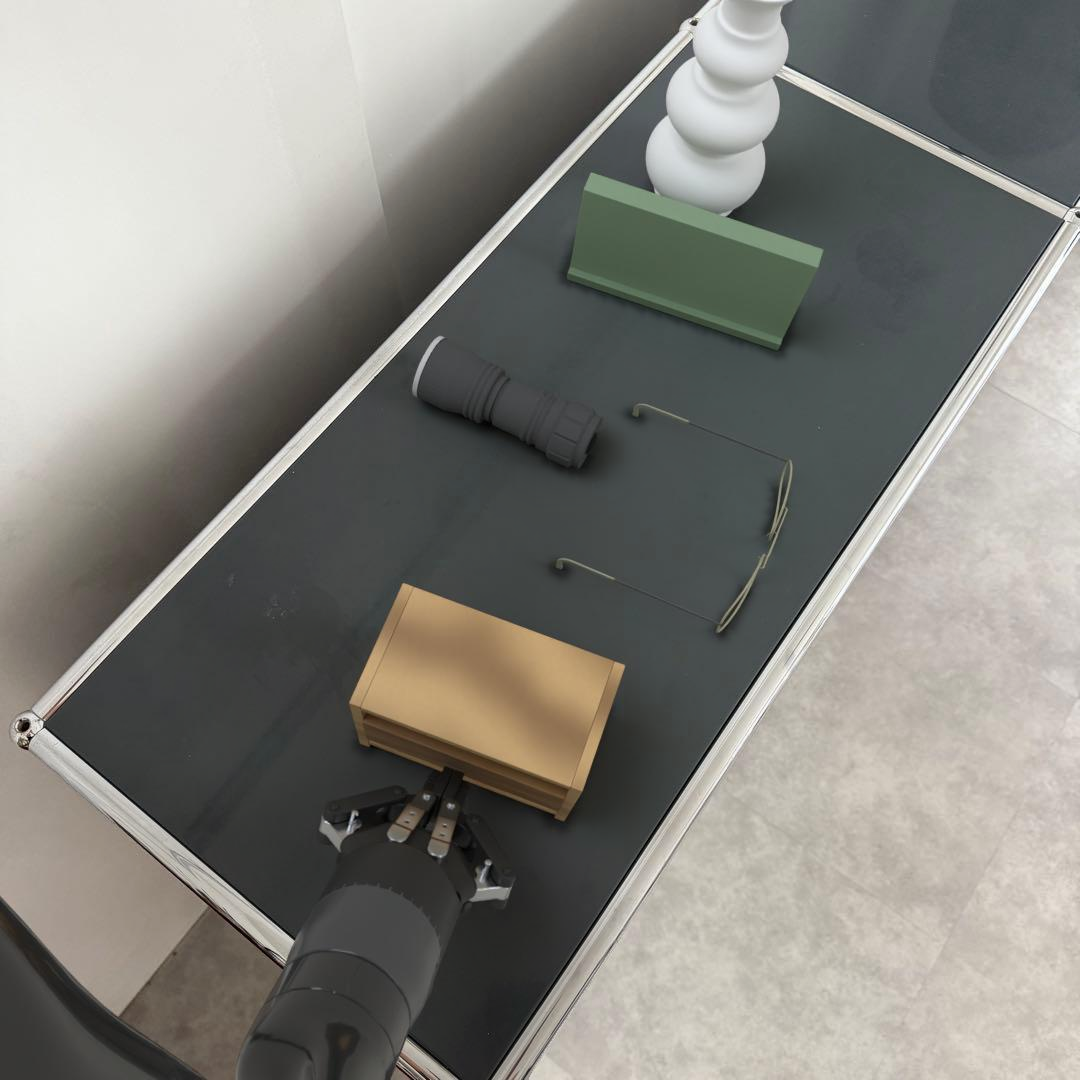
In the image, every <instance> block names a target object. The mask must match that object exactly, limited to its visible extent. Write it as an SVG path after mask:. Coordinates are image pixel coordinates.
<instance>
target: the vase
mask: <svg viewBox="0 0 1080 1080" xmlns="http://www.w3.org/2000/svg"><path fill="white" fill-rule="evenodd" d="M793 1H794V0H721V1H720V2H719V4H718V5H715V6H713V7H712V8H710V9H708V11H707V12H705V13H704V14H703V15H702V16H701V18H700V19H699V21H698V22H697V24H696V26H695V29H694V31H693V35H692V49H693V54H694V56H693V57H691V58H689V59H688V60H686V61H685V62H683V64H682V65H680V66H679V68H677V70H676V71H675V72H674V73H673V75H672V77H671V78H670V81H669V83H668V86H667V89H666V94H665V106H666V112H667V114H666V115H665V116H664V117H663V118H662V119H661V120H660V121H659V122H658V123H657V125H656V126H655V127H654V129H652V132H651V134H650V136H649V138H648V141H647V144H646V149H645V165H646V171H647V175H648V178H649V180H650V182H651V184H652V186H653V190H654V193H655V194H658V195H661V196H664V197H667V198H670V199H673V200H676V201H679V202H682V203H685V204H688V205H691V206H694V207H697V208H700V209H703V210H706V211H709V212H712V213H715V214H718V215H721V216H724V217H727V216H729V215H730V214H731V213H732V212H733V211H734V210H735V209H738V208H739V207H741V206H742V205H743V204H745V203H746V202H747V201H748V200H749V199H750V198H751V197H752V196H753V195H754V194H755V192H756V191H757V190H758V188H759V187H760V184H761V182H762V180H763V178H764V175H765V169H766V152H765V148H764V143H763V141H765V140H766V138H767V137H768V136H769V135H770V134H771V133H772V131H773V129H774V128H775V126H776V123H777V122H778V119H779V114H780V107H781V106H780V105H781V104H780V103H781V101H780V95H779V91H778V87H777V85H776V83H775V81H774V79H773V78H774V77H776V76H777V75H778V74H779V72H780V71H781V70H782V68H783V67H784V65H785V64H786V61H787V58H788V54H789V47H790V45H789V37H788V34H787V31H786V29H785V26H784V24H783V23H782V16H781V12H782V9H783V6H785V5H787V4H789V3H791V2H793Z"/></svg>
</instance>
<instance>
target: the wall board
mask: <svg viewBox="0 0 1080 1080" xmlns="http://www.w3.org/2000/svg"><path fill="white" fill-rule="evenodd" d="M823 253H824V249H823V248H820V247H818V246H814V245H812V244H808V243H806V242H802V241H799V240H796V239H793V238H790V237H788V236H784V235H781V234H779V233H775V232H772V231H769V230H766V229H763V228H760V227H757V226H754V225H751V224H748V223H745V222H742V221H739V220H736V219H733V218H730V217H727V216H726V217H724V216H721V215H718V214H715V213H712V212H709V211H706V210H703V209H700V208H697V207H694V206H691V205H688V204H685V203H682V202H679V201H676V200H673V199H670V198H667V197H664V196H661V195H658V194H655V192H652V191H649V190H645V189H642V188H640V187H637V186H634V185H630V184H628V183H626V182H621V181H618V180H616V179H613V178H610V177H607V176H604V175H600V174H599V173H595V172H590V173H589V176H588V178H587V180H586V183H585V185H584V187H583V189H582V196H581V201H580V207H579V212H578V219H577V225H576V231H575V236H574V242H573V247H572V254H571V259H570V264H569V268H568V270H567V273H566V280H568V281H570V282H574V283H576V284H579V285H582V286H585V287H588V288H590V289H594V290H597V291H600V292H602V293H606V294H609V295H612V296H614V297H618V298H621V299H623V300H626V301H630V302H632V303H635V304H638V305H641V306H644V307H647V308H649V309H653V310H656V311H659V312H662V313H665V314H667V315H670V316H674V317H675V318H679V319H682V320H685V321H688V322H692V323H694V324H696V325H700V326H703V327H706V328H709V329H712V330H714V331H718V332H721V333H724V334H727V335H730V336H732V337H735V338H738V339H741V340H745V341H747V342H749V343H753V344H755V345H759V346H762V347H765V348H768V349H770V350H773V351H777V352H778V351H779V349H780V347H781V346H782V342H783V339H784V337H785V335H786V333H787V331H788V328H789V327H790V325H791V323H792V321H793V319H794V318H795V315H796V313H797V311H798V309H799V307H800V305H801V303H802V301H803V298H804V297H805V295H806V293H807V291H808V289H809V287H810V285H811V283H812V281H813V279H814V277H815V275H816V273H817V271H818V269H819V267H820V262H821V260H822V256H823Z"/></svg>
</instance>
